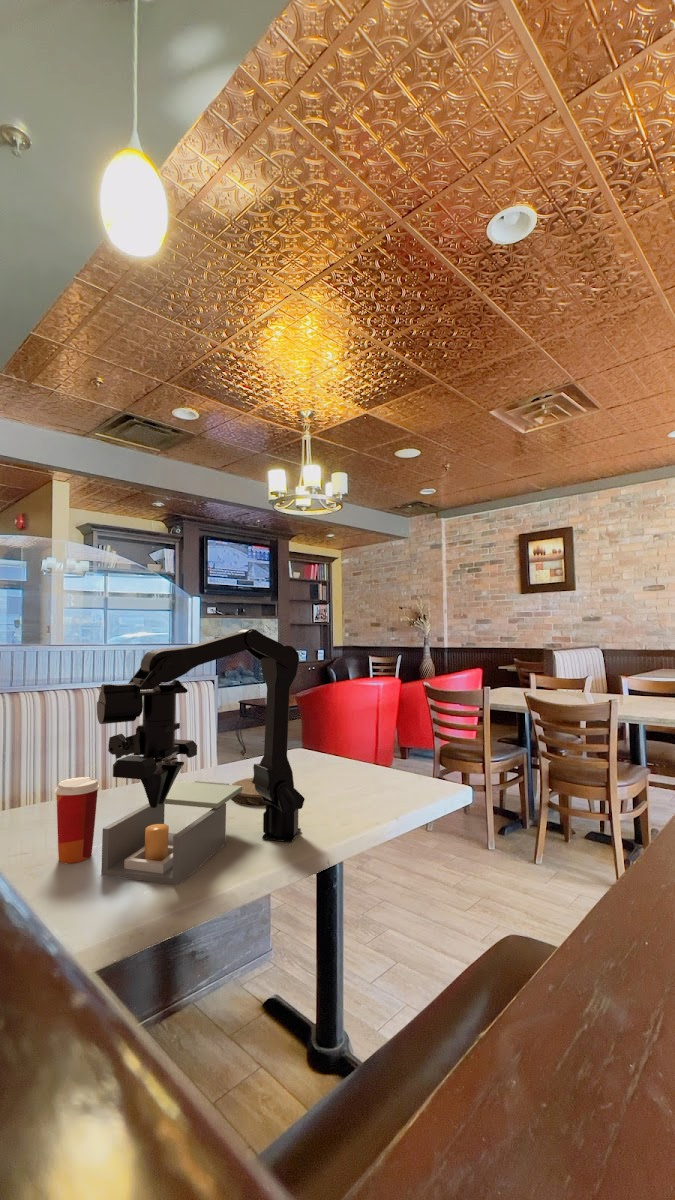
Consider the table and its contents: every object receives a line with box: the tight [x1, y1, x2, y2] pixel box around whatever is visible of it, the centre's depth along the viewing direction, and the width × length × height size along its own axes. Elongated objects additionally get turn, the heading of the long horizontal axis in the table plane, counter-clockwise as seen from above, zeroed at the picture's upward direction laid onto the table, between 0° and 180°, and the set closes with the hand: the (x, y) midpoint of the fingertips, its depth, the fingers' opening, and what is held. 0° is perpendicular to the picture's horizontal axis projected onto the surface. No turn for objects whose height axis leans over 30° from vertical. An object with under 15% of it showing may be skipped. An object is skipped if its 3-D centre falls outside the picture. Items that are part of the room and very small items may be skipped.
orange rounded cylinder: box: [145, 823, 170, 861], centre depth 97 cm, size 4×4×6 cm
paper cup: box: [54, 776, 100, 865], centre depth 102 cm, size 8×8×14 cm
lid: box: [163, 780, 242, 809], centre depth 113 cm, size 15×13×3 cm
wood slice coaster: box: [230, 777, 268, 807], centre depth 139 cm, size 16×16×3 cm
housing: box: [100, 802, 227, 886], centre depth 101 cm, size 15×18×8 cm
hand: (157, 805), depth 98 cm, fingers closed
